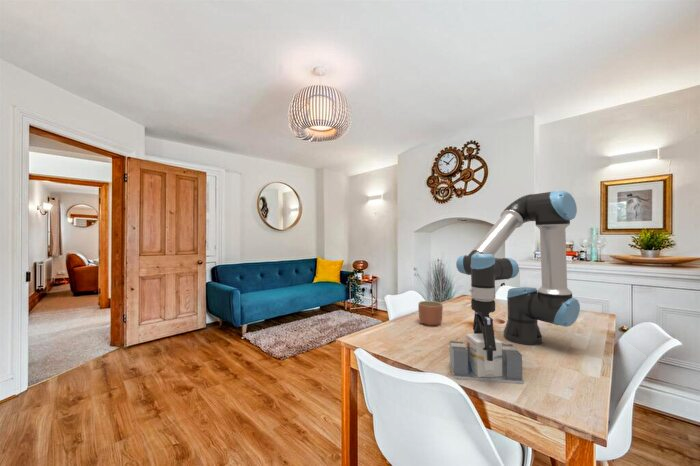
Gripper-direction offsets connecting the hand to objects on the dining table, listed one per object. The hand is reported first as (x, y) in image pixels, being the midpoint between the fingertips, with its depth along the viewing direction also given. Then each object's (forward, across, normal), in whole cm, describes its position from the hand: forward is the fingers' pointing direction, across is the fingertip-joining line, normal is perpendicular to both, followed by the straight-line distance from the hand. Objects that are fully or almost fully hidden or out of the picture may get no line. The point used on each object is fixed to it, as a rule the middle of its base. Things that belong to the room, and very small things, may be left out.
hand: (483, 360), depth 101 cm
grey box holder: (+4, 0, 0) cm, 4 cm away
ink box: (+4, 0, 0) cm, 4 cm away
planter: (+5, -53, -14) cm, 55 cm away
